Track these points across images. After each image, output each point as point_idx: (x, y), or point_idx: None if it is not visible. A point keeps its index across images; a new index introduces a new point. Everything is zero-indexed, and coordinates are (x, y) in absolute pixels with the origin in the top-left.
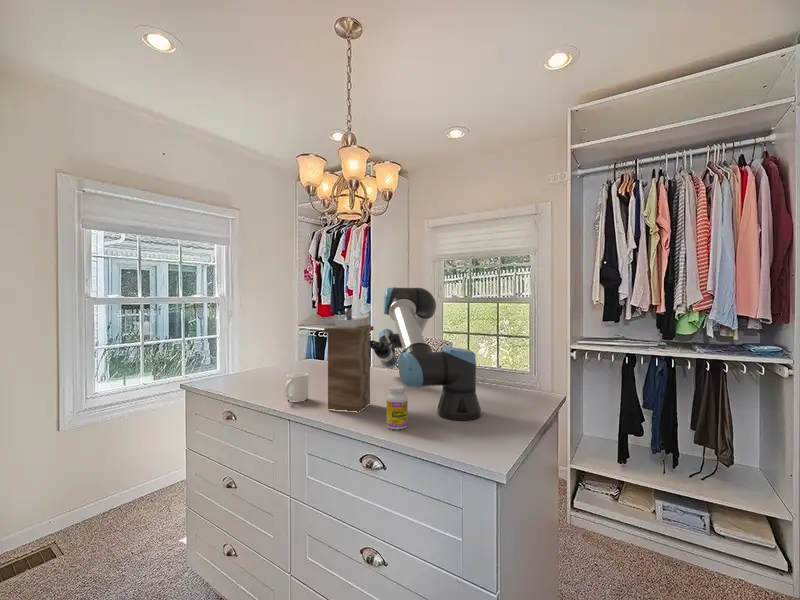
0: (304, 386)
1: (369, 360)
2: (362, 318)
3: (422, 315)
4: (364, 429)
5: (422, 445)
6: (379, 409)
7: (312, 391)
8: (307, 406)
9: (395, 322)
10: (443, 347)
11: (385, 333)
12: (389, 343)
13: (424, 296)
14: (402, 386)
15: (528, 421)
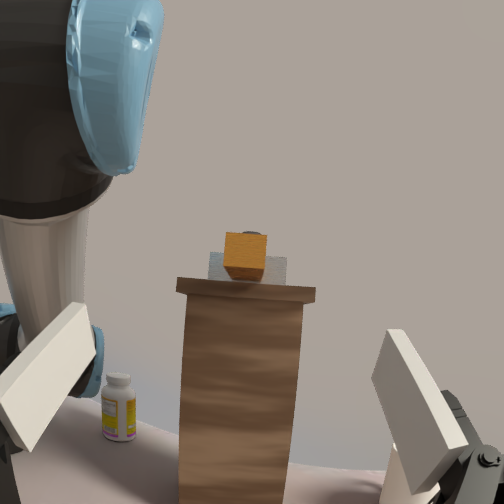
0: (386, 472)
1: (181, 398)
2: (219, 253)
3: None
4: (170, 437)
5: (98, 408)
6: (147, 490)
7: None
8: (340, 492)
9: (84, 246)
10: (11, 305)
11: (90, 330)
12: (10, 481)
13: None
14: (109, 374)
15: None
